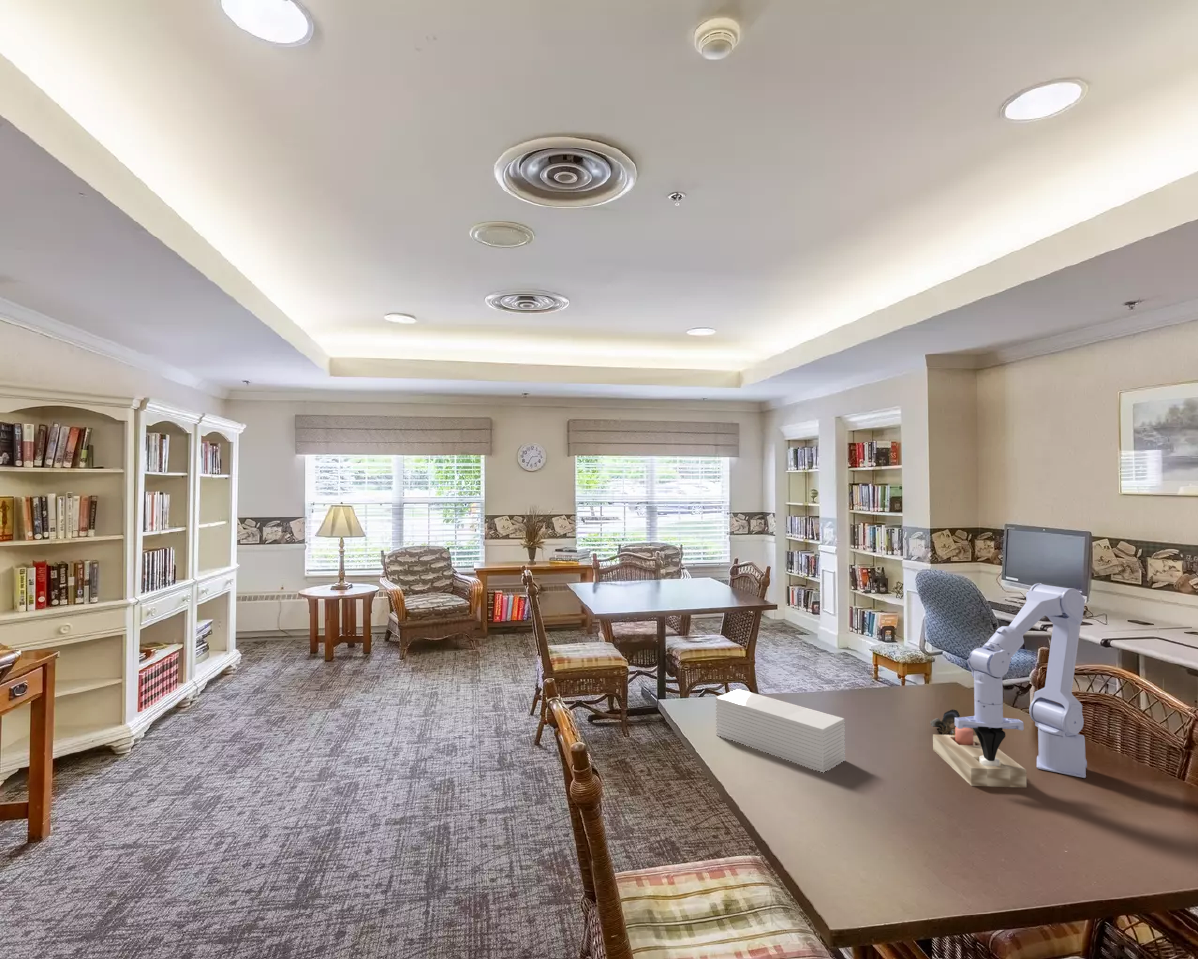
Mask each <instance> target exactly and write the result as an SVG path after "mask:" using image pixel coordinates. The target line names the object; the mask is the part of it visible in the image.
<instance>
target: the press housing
mask: <svg viewBox="0 0 1198 959" xmlns="http://www.w3.org/2000/svg"><path fill="white" fill-rule="evenodd" d="M973 737H974V745H958V744H957V743H956V742H955V735H952V734H947V735H942V734H932V751H933V752H935V753H936V754H937V755H938V756H939V757H940V758H941V759H942V760H943V761H944V762H945V763H947V764H948V766H950V768H952V769H953V770H954V771H955V772H956V773H957V774H958V775H959V776H960V777H961V778H962V779H963V780H965V781H966V783H968V784H969V785H970V787H972V786H973V787H996V788H997V787H998V788H999V787H1000V788H1003V787H1004V788H1026V789H1027V769H1026V768H1025V767H1023V766H1022V765H1021V764H1019V763H1018V762H1016V761H1015V760H1014V759H1013V758H1011V756H1009V755H1007V754H1006V753H1004V752H1003V751H1002V750H1001V749H999V748H998V750H997V753H996V756H995V758H997V759H999V766H983V765H982V764H981V763H980V762H979V757H980V756H982V755H984V754H983V750H982V747H981V744H980V741H979V739H978V737H977V735H973Z"/></svg>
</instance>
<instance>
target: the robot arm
mask: <svg viewBox="0 0 1198 959" xmlns="http://www.w3.org/2000/svg"><path fill="white" fill-rule="evenodd" d="M1025 600H1026V601H1025V603H1024V605H1023V606H1022V607H1021V609H1020V610H1019V611H1018V613H1017V614H1016V615H1015V617H1014V618H1013V620H1012V621H1011V622H1010V624H1009V625H1007V626H1005V625H1002V626H1000V627H998V628H997V629H996V630H995V632H994V633H993V635H991V637H989V639H988V640H987V641H986V642H985V643H984V644H983V646H981V647H976V648H975V649H972V651H971V652H970V654H969V656H968V659H967V660H966V661H967V666H968V667H969V668H970V670H971V676H972V678H973V694H974V695H973V697H974V698H973V699H974V702H973V703H974V704H973V706H974V707H973V708H974V715H971V716H961V717H959V718H955V722H954V726H956V727H957V728H959V729H963V728H971V729H972V730H973V732H974V733H975V736H977V737H978V739H979V741H980V744H981V747H982V750H983V754H984V758H986V759H987V760H988V761H994V760H995V756H996V753H997V750H998V749H999V747H1000V745H1001V744H1002V742H1003V741H1004V739H1005V738H1006V732H1005V731H1004V729H1005V730H1018V731H1024V730H1025V729H1024V726H1025V725H1024V721H1023V720H1020V719H1019V718H1009V717H1004V706H1003V705H1004V703H1003V702H1004V698H1003V697H1004V695H1003V693H1004V691H1003V689H1004V688H1003V677H1004V676H1005V675H1007V673H1008V672H1009V669H1010V663H1011V662H1012V657H1013V656H1014V655H1015V654H1016V653H1017V652H1018V651H1019V650H1020V648H1022V646H1023V645H1024V644H1025V639H1024V635H1025V634H1026V633H1027V632H1028V631H1030V630H1031V629H1032V628H1033V627H1034V626H1035V625H1036V624H1037V623H1038V622H1040V621H1041V620H1042V619H1043V617H1047V618H1048V619H1049V621H1050V622H1051V623H1052V633H1051V638H1050V639H1051V640H1050V644H1049V645H1050V646H1049V653H1048V655H1049V656H1048V661H1047V668H1046V669H1047V670H1046V675H1045V676H1046V678H1045V684H1044V687H1042V688H1040V689H1038V690H1036V691H1035V692H1034V693H1033V694H1034V695H1033V698H1032V701H1031V703H1030V704H1029V707H1028V708H1029V709H1028V711H1029V717H1030V718H1031V720H1032V721H1033V722H1034V726H1035V727H1036V728H1037V730H1038V731H1037V741H1038V742H1037V743H1038V745H1037V746H1038V747H1037V748H1038V751H1037V752H1038V755H1037V756H1036V768H1037V769H1038V770H1043V771H1048V772H1052V773H1059V774H1063V775H1066V776H1073V777H1077V778H1083V779H1085V778H1086V777H1087V775H1086V773H1087V772H1086V771H1087V768H1088V761H1087V759H1086V740H1085V735H1083V734H1080V732H1081V731H1082V730H1083V728H1084V723H1085V722H1084V721H1085V720H1084V716H1083V704H1082V703H1081V701H1079V699H1078V698H1077V697H1076V696H1074V694H1073V686H1074V685H1073V684H1074V677H1075V670H1076V669H1075V668H1076V662H1077V655H1078V648H1079V647H1078V646H1079V640H1080V633H1081V624H1082V623H1083V618H1084V611H1085V604H1086V603H1085V602H1086V599H1085V598H1084V597H1083V595H1082V594H1081V592H1080V591H1079V590H1078V589H1076V588H1073V587H1072V588H1071V587H1069V588H1068V587H1062V586H1054V585H1049V584H1043V583H1040V582H1038V583H1037V582H1036V583H1034V584H1033V585H1032V586H1031V587H1030V588H1029V590H1028V591H1027V592H1026V593H1025Z"/></svg>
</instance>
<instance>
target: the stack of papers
mask: <svg viewBox="0 0 1198 959" xmlns="http://www.w3.org/2000/svg"><path fill="white" fill-rule="evenodd" d="M715 700H716V701H715V711H716V712H715V725H716V726H715V730H716V731H715V734H716V736H717V735H718V737H720V736H721V738H722V739H725V738H726V740H729V741H731V740H734V741H736V742H735V743H737V742H739V743H741V744H740V745H742V744H744V745H743V746H745V745H747V746H746V747H748V746H750V747H749V748H751V747H753V748H755V749H754V750H756V749H758V750H757V751H759V750H760V752H762V751H763V752H762V753H765V752H766V753H765V754H767V753H769V754H768V755H770V754H771V756H773V755H776V756H779V757H781V758H784V759H787V760H789V761H788V762H790V761H792V762H791V763H793V762H795V763H797V764H796V765H798V764H800V765H799V766H801V765H802V766H801V767H804V766H805V768H807V767H808V768H807V769H810V770H812V769H813V770H812V771H815V770H818V771H820V772H819V773H821V772H823V773H822V774H825V773H826V772H825V771H827V770H828V771H830V770H831V768H832V769H833V768H835V767H837V766H838V765H840V764H842V763H843V761H844V762H845V761H846V742H845V741H846V738H845V737H846V736H845V735H846V731H845V728H846V727H845V724H846V723H845V720H846V718H844V717H841V716H838V715H835V714H834V715H833V714H829V713H825V712H822V711H819V710H815V709H811V708H807V707H804V706H800V705H798V704H794V703H791V702H787V701H783V700H779V699H776V698H773V697H769V696H765V695H761V694H758V693H755V692H751V691H747V690H744V689H739V688H738V689H735V690H733V691H730V692H727V693H724V694H721V695H718V696H716V697H715ZM734 741H733V742H734ZM739 743H738V744H739ZM753 748H752V749H753ZM776 756H775V757H776ZM779 757H778V758H779ZM781 758H780V759H781ZM784 759H783V760H784ZM787 760H786V761H787ZM841 762H842V763H841ZM795 763H794V764H795ZM836 765H837V766H836ZM818 771H817V772H818ZM828 771H827V772H828ZM824 772H825V773H824Z"/></svg>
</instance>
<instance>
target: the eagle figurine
mask: <svg viewBox="0 0 1198 959" xmlns="http://www.w3.org/2000/svg"><path fill="white" fill-rule="evenodd" d="M959 717H960V713H959V711H958V710H957V709H950V710H948V711H946V712H944V713H943V716H942V718H941V719H940V718H938V717H937V718H934V719H931V720H930V726H931V727H933V728H934V727H935V728H938V731H939V732H941V733H942V734H941V735H948V733H950V735H955V732H954V731H955V727H956V726H955V725H954V726H951V725H952V724H955V718H959Z"/></svg>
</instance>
